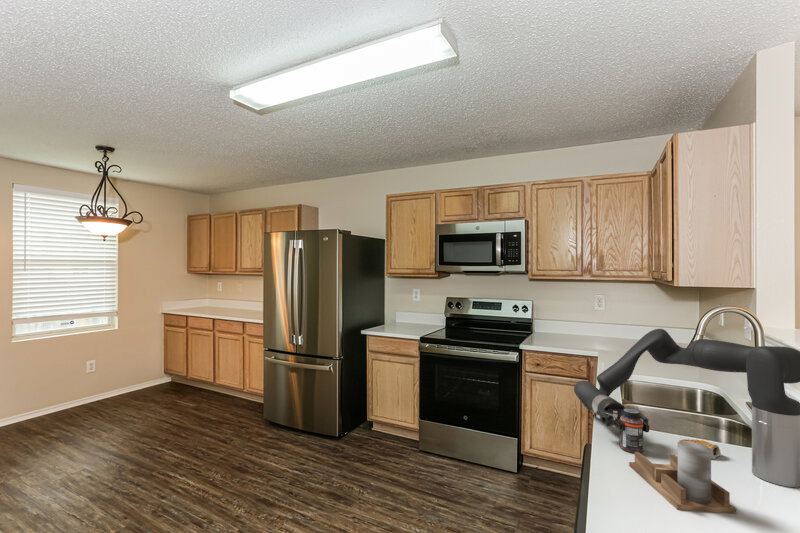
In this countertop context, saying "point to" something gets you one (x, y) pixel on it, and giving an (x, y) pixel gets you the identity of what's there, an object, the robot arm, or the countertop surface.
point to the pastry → (714, 448)
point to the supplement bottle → (631, 431)
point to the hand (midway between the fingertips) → (635, 428)
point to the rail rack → (686, 479)
